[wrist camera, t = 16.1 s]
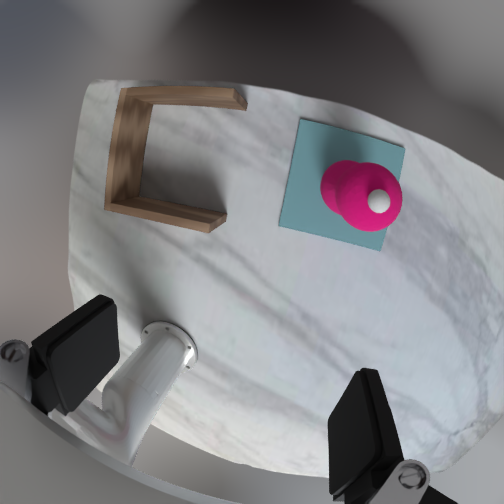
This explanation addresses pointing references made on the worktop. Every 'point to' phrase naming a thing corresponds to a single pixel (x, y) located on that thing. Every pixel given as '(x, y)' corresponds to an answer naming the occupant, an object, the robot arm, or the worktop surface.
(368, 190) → the pepper mill
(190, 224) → the open side box
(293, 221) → the mat
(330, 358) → the worktop surface
